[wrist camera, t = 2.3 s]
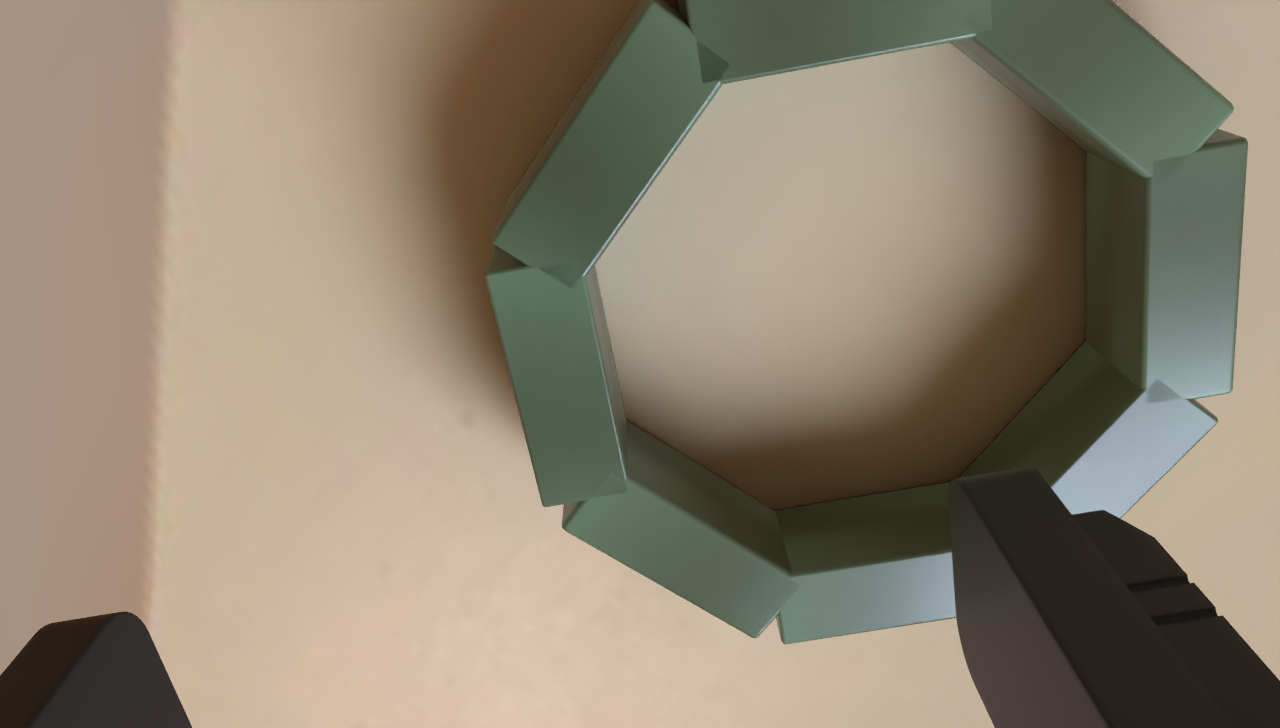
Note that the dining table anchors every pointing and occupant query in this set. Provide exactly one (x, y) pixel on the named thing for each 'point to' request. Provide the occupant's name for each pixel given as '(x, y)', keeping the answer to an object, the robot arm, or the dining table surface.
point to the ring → (1037, 437)
